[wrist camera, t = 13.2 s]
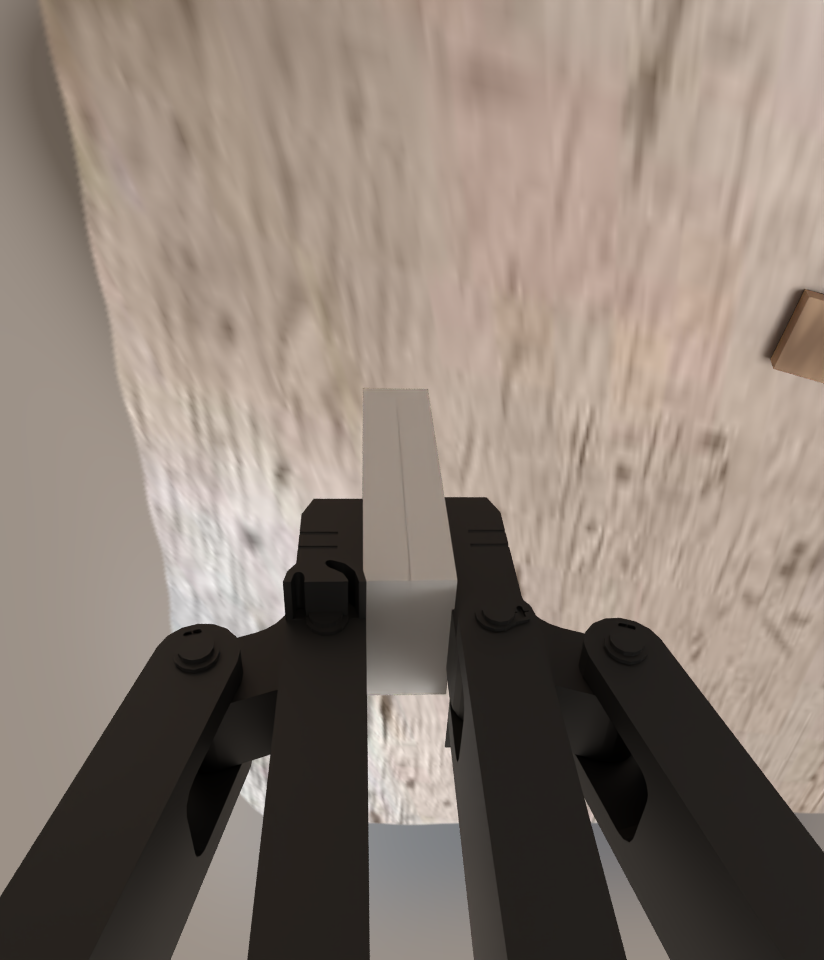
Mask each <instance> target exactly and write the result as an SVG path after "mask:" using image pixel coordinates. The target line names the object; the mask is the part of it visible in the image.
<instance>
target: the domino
mask: <svg viewBox="0 0 824 960" xmlns="http://www.w3.org/2000/svg"><path fill="white" fill-rule="evenodd" d="M770 360H771V363H772V366H773V368H774V369H776V370H779V371H783V372H786V373H790V374H793V375H797V376H800V377H804V378H807V379H811V380H814V381H818V382H821V383H824V294H820V293H817V292H813V291H809V290H806V289H805V290H804V292H803V294H802V296H801V298H800V300H799V302H798V304H797V306H796V308H795V310H794V312H793V315H792V317H791V319H790V321H789V323H788V325H787V327H786V329H785V331H784V333H783V335H782V337H781V339H780V341H779V343H778V345H777V347H776V349H775V351H774V353H773V355H772V357H771V359H770Z"/></svg>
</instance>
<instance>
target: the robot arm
mask: <svg viewBox="0 0 824 960" xmlns="http://www.w3.org/2000/svg"><path fill="white" fill-rule="evenodd" d="M283 590H284V603H285V616H284V617H283V618H282V619H281V620H279V621H278V622H277V623H276V624H274V625H272V626H271V627H269V628H267V629H265V630H262V631H259V632H257V633H253V634H250V635H246V636H242V637H238V638H237V637H236V636H235V635H233V634H232V633H231V632H230V631H229V630H228V629H226V628H223V627H220V626H217V625H215V624H195V625H192V626H188V627H184V628H181V629H179V630H177V631H175V632H174V633H172V634H170V635H168V636H167V637H166V638H165V639H164V640H163V641H162V642H161V643H160V644H159V646H158V647H157V648H156V650H155V651H154V653H153V654H152V656H151V658H150V659H149V661H148V662H147V664H146V666H145V667H144V669H143V670H142V672H141V673H140V675H139V677H138V678H137V680H136V682H135V683H134V685H133V686H132V688H131V689H130V691H129V693H128V694H127V696H126V697H125V699H124V701H123V702H122V704H121V705H120V707H119V709H118V710H117V712H116V713H115V715H114V716H113V718H112V720H111V722H110V723H109V724H108V726H107V728H106V729H105V731H104V732H103V734H102V736H101V737H100V739H99V740H98V742H97V744H96V745H95V747H94V748H93V750H92V751H91V753H90V755H89V756H88V758H87V759H86V761H85V763H84V764H83V766H82V768H81V769H80V771H79V772H78V774H77V775H76V777H75V779H74V780H73V782H72V783H71V785H70V787H69V788H68V790H67V791H66V793H65V794H64V796H63V798H62V799H61V801H60V802H59V804H58V806H57V807H56V809H55V811H54V812H53V814H52V815H51V817H50V818H49V820H48V822H47V823H46V825H45V826H44V828H43V830H42V831H41V833H40V835H39V836H38V837H37V839H36V841H35V842H34V844H33V845H32V847H31V849H30V850H29V852H28V853H27V855H26V857H25V858H24V860H23V861H22V863H21V865H20V867H19V868H18V869H17V871H16V872H15V874H14V876H13V877H12V879H11V880H10V882H9V884H8V885H7V887H6V888H5V890H4V892H3V893H2V895H1V897H0V960H171V957H172V955H173V952H174V950H175V948H176V945H177V943H178V940H179V938H180V936H181V933H182V931H183V928H184V926H185V924H186V921H187V919H188V916H189V914H190V912H191V909H192V907H193V904H194V902H195V899H196V897H197V894H198V892H199V890H200V887H201V885H202V883H203V880H204V878H205V875H206V873H207V870H208V868H209V866H210V863H211V861H212V859H213V856H214V854H215V851H216V849H217V847H218V844H219V842H220V839H221V837H222V834H223V832H224V830H225V827H226V825H227V822H228V820H229V818H230V815H231V813H232V810H233V807H234V805H235V803H236V800H237V798H238V796H239V794H240V791H241V789H242V786H243V784H244V781H245V779H246V777H247V774H248V772H249V769H250V767H251V763H252V760H255V759H258V758H261V757H264V756H267V755H270V754H271V755H270V764H269V772H268V781H267V790H266V799H265V808H264V817H263V827H262V835H261V844H260V853H259V862H258V870H257V879H256V888H255V897H254V906H253V915H252V924H251V932H250V941H249V950H248V960H370V953H369V952H370V949H369V945H370V944H369V853H368V852H369V849H368V848H369V847H368V747H367V695H424V694H446V689H447V680H448V689H449V697H450V703H449V712H448V722H447V731H446V741H445V747H451V754H452V763H453V772H454V781H455V790H456V800H457V809H458V818H459V827H460V835H461V845H462V854H463V863H464V872H465V881H466V891H467V900H468V909H469V917H470V926H471V936H472V945H473V954H474V960H627V959H626V955H625V951H624V947H623V943H622V940H621V936H620V932H619V929H618V925H617V921H616V917H615V913H614V909H613V905H612V902H611V898H610V894H609V890H608V886H607V883H606V879H605V875H604V871H603V868H602V864H601V860H600V856H599V852H598V849H597V845H596V841H595V837H594V833H593V829H592V826H591V822H590V818H589V814H588V810H587V807H586V803H585V800H586V802H587V804H588V805H589V807H590V809H591V811H592V813H593V815H594V817H595V819H596V821H597V822H598V824H599V826H600V828H601V830H602V832H603V834H604V836H605V837H606V839H607V841H608V843H609V845H610V847H611V849H612V851H613V853H614V854H615V856H616V858H617V860H618V862H619V864H620V866H621V868H622V869H623V871H624V873H625V875H626V877H627V878H628V881H629V883H630V885H631V887H632V888H633V890H634V892H635V894H636V896H637V898H638V900H639V901H640V903H641V905H642V907H643V909H644V911H645V913H646V915H647V917H648V919H649V920H650V922H651V924H652V926H653V928H654V930H655V932H656V934H657V936H658V937H659V939H660V941H661V943H662V945H663V947H664V949H665V950H666V952H667V954H668V956H669V958H670V960H824V852H823V851H822V849H821V848H820V847H819V846H818V844H817V843H816V842H815V840H814V839H813V838H812V836H811V835H810V834H809V832H807V830H806V829H805V827H804V826H803V825H802V823H801V822H800V821H799V819H798V818H797V817H796V816H795V814H794V813H793V812H792V810H791V809H790V808H789V806H788V805H787V804H786V802H785V801H784V800H783V798H782V797H781V796H780V795H779V793H778V792H777V791H776V789H775V788H774V787H773V785H772V784H771V783H770V781H769V780H768V779H767V778H766V776H765V775H764V774H763V772H762V771H761V770H760V768H759V767H758V766H757V764H756V763H755V762H754V761H753V759H752V758H751V757H750V755H749V754H748V753H747V751H746V750H745V749H744V747H743V746H742V745H741V744H740V742H739V741H738V740H737V738H736V737H735V736H734V734H733V733H732V732H731V730H730V729H729V728H728V727H727V725H726V724H725V723H724V721H723V720H722V719H721V717H720V716H719V715H718V713H717V712H716V711H715V710H714V708H713V707H712V706H711V704H710V703H709V702H708V700H707V699H706V698H705V696H704V695H703V694H702V693H701V691H700V690H699V689H698V687H697V686H696V685H695V683H694V682H693V681H692V679H691V678H690V677H689V676H688V674H687V673H686V672H685V670H684V669H683V668H682V666H681V665H680V664H679V662H678V661H677V660H676V659H675V657H674V656H673V655H672V653H671V652H670V651H669V649H668V648H667V647H666V645H665V644H664V643H663V641H662V640H661V639H660V638H659V637H658V636H657V635H656V634H655V633H654V632H653V631H651V630H650V629H649V628H647V627H645V626H643V625H641V624H639V623H637V622H635V621H631V620H627V619H622V618H606V619H603V620H600V621H598V622H595V623H593V624H592V625H591V626H590V627H589V629H588V630H587V631H586V632H585V633H580V632H576V631H572V630H568V629H564V628H560V627H557V626H554V625H551V624H549V623H547V622H545V621H543V620H541V619H540V618H538V617H537V616H536V615H535V613H534V611H533V609H532V607H531V606H530V605H529V604H528V603H526V602H525V601H524V600H523V598H522V596H521V592H520V588H519V584H518V580H517V576H516V572H515V568H514V564H513V560H512V556H511V553H510V549H509V547H508V541H507V537H506V533H505V529H504V525H503V521H502V517H501V513H500V512H499V510H498V509H497V508H496V507H495V506H494V505H493V504H492V503H491V502H490V501H489V500H488V498H487V497H444V491H443V484H442V478H441V471H440V465H439V458H438V452H437V445H436V439H435V432H434V426H433V419H432V413H431V407H430V400H429V394H428V389H374V388H363V477H362V499H313V500H312V502H311V503H310V504H309V506H308V507H307V508H306V509H305V511H304V512H303V513H302V516H301V525H300V535H299V544H298V553H297V562H296V564H295V565H294V566H293V567H292V568H291V569H289V570H288V571H287V573H286V576H285V578H284V581H283ZM584 798H585V799H584Z"/></svg>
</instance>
